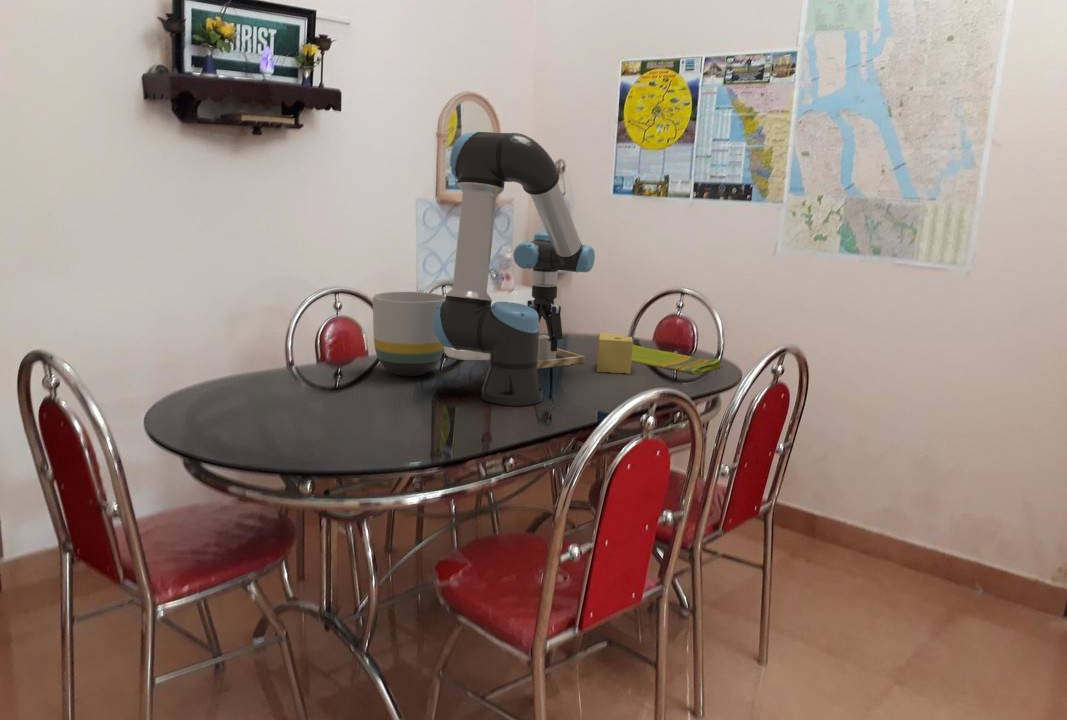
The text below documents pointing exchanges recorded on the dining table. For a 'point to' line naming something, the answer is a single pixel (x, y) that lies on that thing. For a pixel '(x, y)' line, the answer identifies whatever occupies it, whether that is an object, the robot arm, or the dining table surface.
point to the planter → (406, 331)
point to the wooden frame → (562, 359)
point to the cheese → (614, 353)
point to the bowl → (466, 354)
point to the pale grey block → (542, 347)
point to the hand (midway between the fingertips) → (541, 358)
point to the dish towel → (673, 360)
